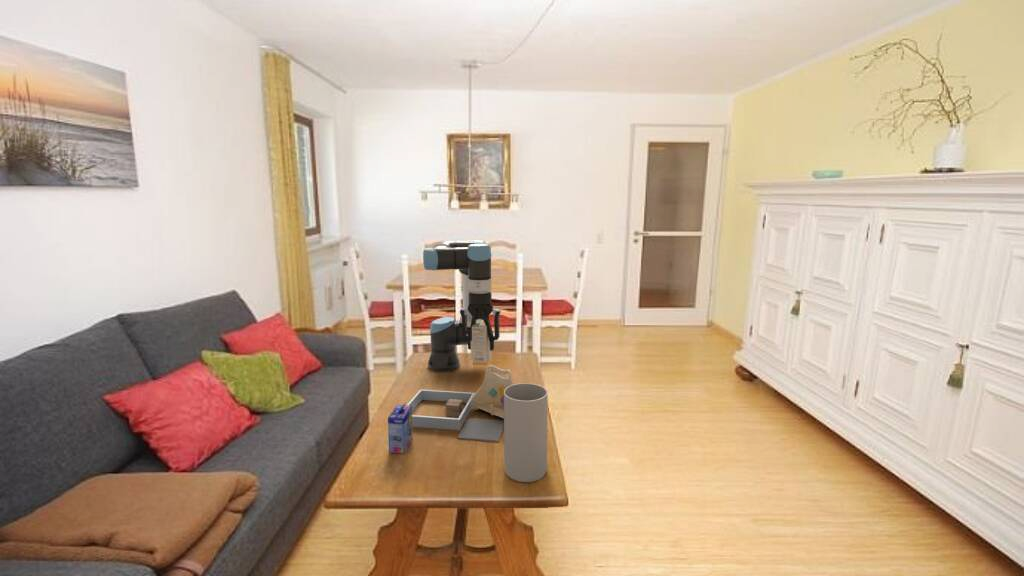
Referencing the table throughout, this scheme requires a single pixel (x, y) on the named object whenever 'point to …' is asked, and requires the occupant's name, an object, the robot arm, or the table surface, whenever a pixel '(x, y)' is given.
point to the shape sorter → (492, 391)
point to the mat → (482, 430)
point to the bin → (441, 421)
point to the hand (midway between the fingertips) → (481, 358)
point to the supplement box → (479, 343)
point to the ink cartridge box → (400, 428)
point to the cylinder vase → (525, 432)
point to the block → (454, 408)
